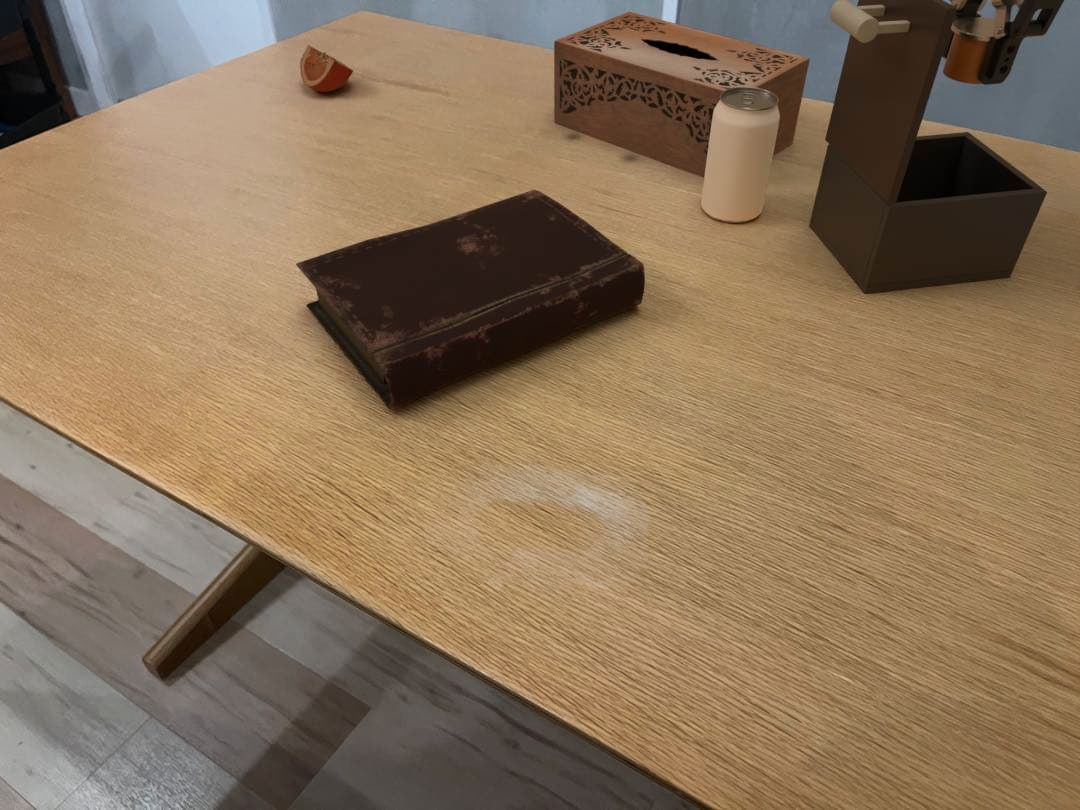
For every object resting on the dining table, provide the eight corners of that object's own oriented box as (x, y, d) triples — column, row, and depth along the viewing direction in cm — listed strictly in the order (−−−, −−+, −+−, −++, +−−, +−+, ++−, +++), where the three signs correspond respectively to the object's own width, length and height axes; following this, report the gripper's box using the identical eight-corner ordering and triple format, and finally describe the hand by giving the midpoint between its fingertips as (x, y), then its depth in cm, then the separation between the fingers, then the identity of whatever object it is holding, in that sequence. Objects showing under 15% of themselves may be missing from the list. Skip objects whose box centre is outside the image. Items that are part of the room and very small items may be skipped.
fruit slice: (294, 85, 115) (286, 48, 112) (338, 74, 118) (332, 37, 115) (320, 103, 110) (312, 65, 107) (365, 91, 113) (359, 54, 109)
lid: (876, -39, 68) (817, -36, 68) (957, 8, 59) (890, 12, 58) (832, 139, 79) (780, 143, 78) (896, 202, 69) (838, 207, 69)
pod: (980, 62, 74) (996, 14, 71) (1014, 83, 70) (1032, 34, 67) (926, 66, 73) (940, 18, 71) (957, 88, 69) (973, 39, 67)
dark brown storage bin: (940, 212, 86) (968, 131, 80) (1010, 277, 77) (1048, 191, 71) (808, 225, 85) (827, 144, 79) (864, 293, 75) (890, 207, 70)
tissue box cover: (554, 122, 104) (554, 40, 98) (624, 89, 112) (629, 11, 106) (726, 185, 91) (740, 96, 85) (792, 142, 99) (809, 58, 92)
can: (697, 221, 86) (712, 107, 78) (703, 192, 90) (717, 82, 82) (760, 227, 84) (782, 113, 76) (763, 198, 89) (784, 87, 81)
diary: (645, 311, 74) (649, 263, 70) (394, 419, 64) (385, 369, 60) (530, 225, 85) (529, 180, 82) (303, 305, 75) (291, 258, 72)
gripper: (1167, -152, 55) (1062, 99, 67) (1037, -181, 66) (966, 40, 77) (1065, -147, 54) (976, 106, 66) (950, -178, 65) (891, 45, 76)
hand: (971, 69), depth 71 cm, fingers closed on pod, 5 cm apart
